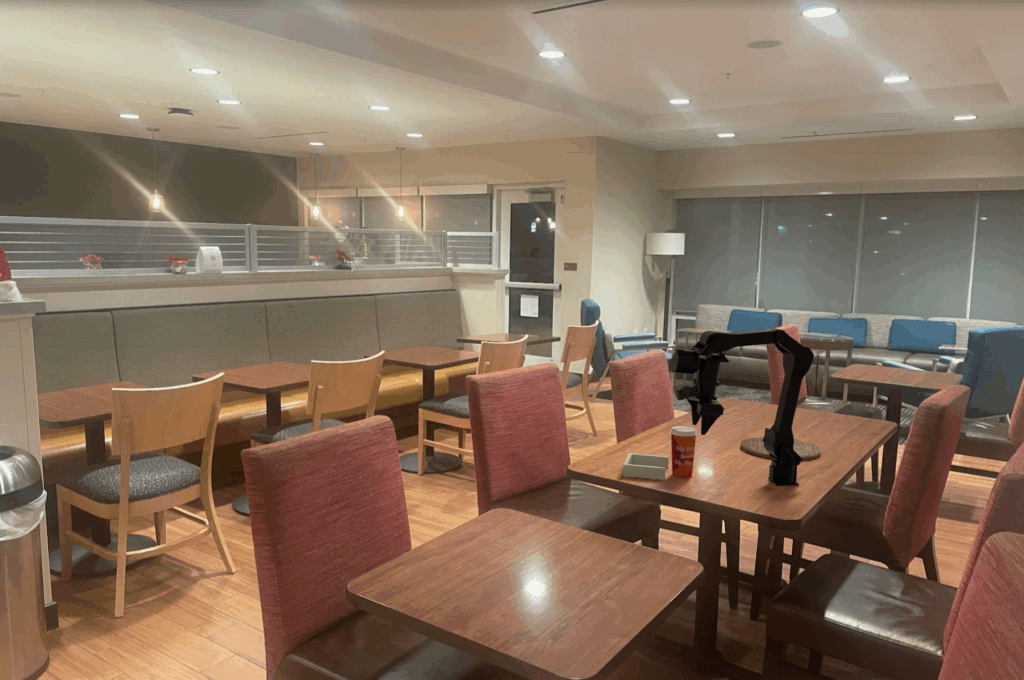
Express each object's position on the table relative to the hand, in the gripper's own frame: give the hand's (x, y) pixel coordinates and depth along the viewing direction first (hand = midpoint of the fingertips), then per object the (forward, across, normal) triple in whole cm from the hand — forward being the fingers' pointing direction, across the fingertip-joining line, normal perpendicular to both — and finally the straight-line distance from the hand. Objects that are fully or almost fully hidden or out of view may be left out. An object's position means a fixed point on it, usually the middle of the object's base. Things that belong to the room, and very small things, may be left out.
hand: (698, 429), depth 198 cm
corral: (+17, -9, -10) cm, 22 cm away
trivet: (+14, -34, +39) cm, 54 cm away
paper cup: (+16, -6, -1) cm, 17 cm away
